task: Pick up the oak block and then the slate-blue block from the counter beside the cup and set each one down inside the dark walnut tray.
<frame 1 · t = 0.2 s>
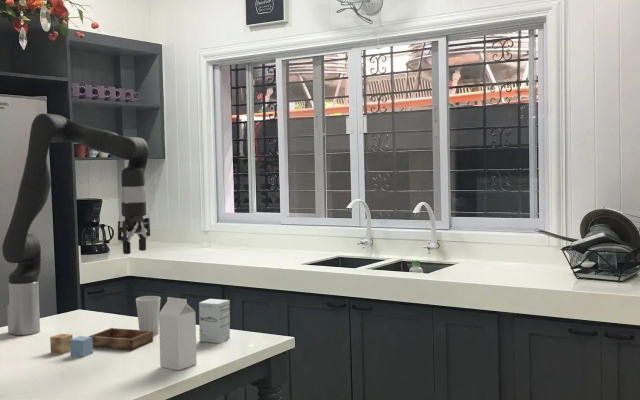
hand: (134, 252, 223), 29 cm above the table, tool pointing down, fingers open, 8 cm apart
slate block: (81, 355, 211), on the table
cup: (149, 334, 235), on the table
supplement box: (215, 340, 226), on the table
tray: (121, 344, 223), on the table
milk carton: (178, 366, 197), on the table
oak block: (61, 352, 214), on the table
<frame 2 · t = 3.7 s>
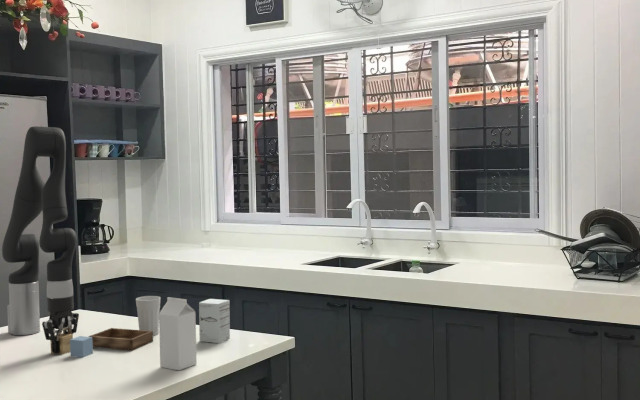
hand: (62, 350, 214), 0 cm above the table, tool pointing down, fingers closed on oak block, 4 cm apart
oak block: (62, 351, 214), on the table, touching gripper
everything else where it was.
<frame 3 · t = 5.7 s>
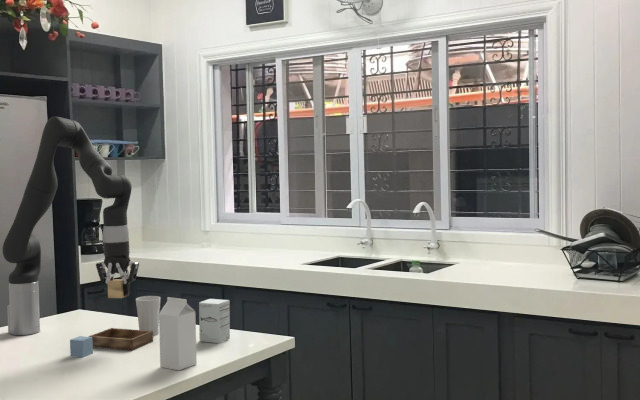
hand: (118, 295, 218), 16 cm above the table, tool pointing down, fingers closed on oak block, 4 cm apart
oak block: (118, 296, 218), point 16 cm above the table, touching gripper
everything else where it was.
when the fingers open (3 cm above the table, at t = 7.7 s): oak block drops 2 cm, resting on tray.
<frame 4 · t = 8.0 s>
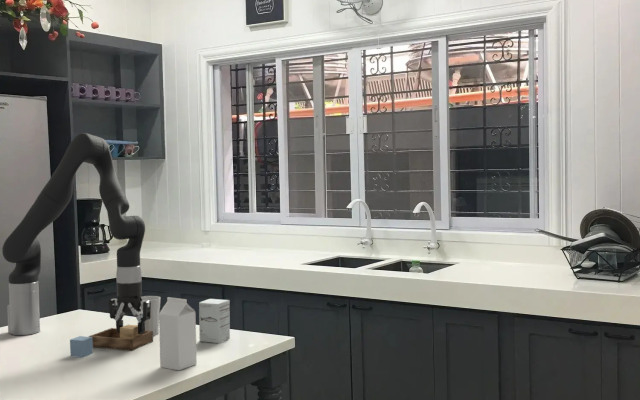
hand: (130, 332, 221), 4 cm above the table, tool pointing down, fingers open, 7 cm apart
oak block: (130, 342, 221), point 1 cm above the table, touching tray
everything else where it was.
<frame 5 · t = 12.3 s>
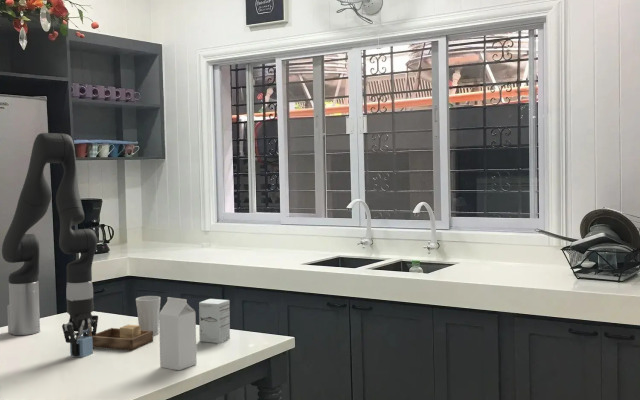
hand: (81, 353, 211), 0 cm above the table, tool pointing down, fingers closed on slate block, 4 cm apart
slate block: (81, 354, 211), on the table, touching gripper
everything else where it was.
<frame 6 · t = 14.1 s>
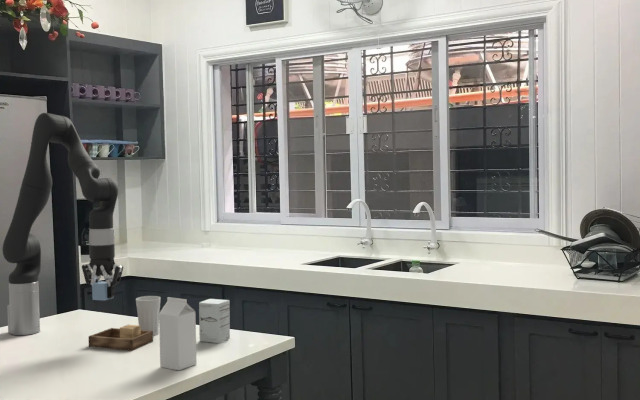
hand: (103, 297, 220), 15 cm above the table, tool pointing down, fingers closed on slate block, 4 cm apart
slate block: (103, 298, 220), point 15 cm above the table, touching gripper
everything else where it was.
when the fingers open (3 cm above the table, at t = 16.0 s): slate block drops 2 cm, resting on tray.
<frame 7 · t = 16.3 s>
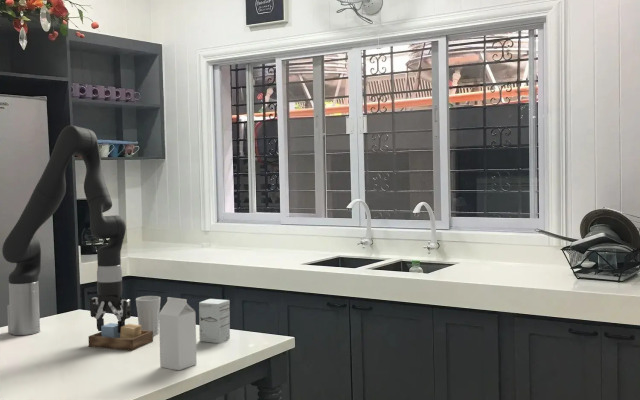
hand: (110, 331, 224), 4 cm above the table, tool pointing down, fingers open, 7 cm apart
slate block: (112, 340, 224), point 1 cm above the table, touching tray
oak block: (130, 341, 221), point 1 cm above the table, touching gripper, tray
everything else where it was.
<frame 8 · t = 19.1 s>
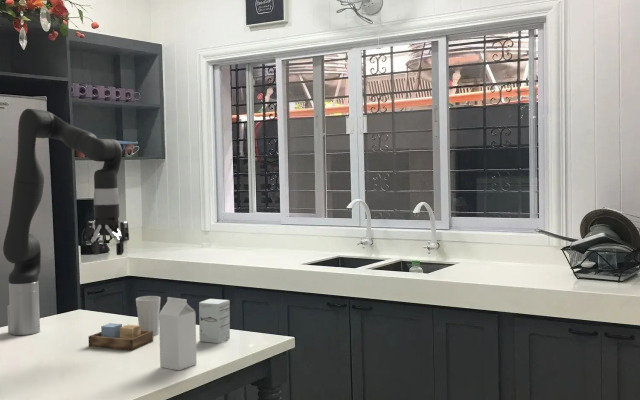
hand: (108, 254, 222), 28 cm above the table, tool pointing down, fingers open, 8 cm apart
oak block: (130, 342, 221), point 1 cm above the table, touching tray
everything else where it was.
at the end: oak block inside the target area on the tray (3.5 cm from its centre), point 0.8 cm above the tray's base; slate block inside the target area on the tray (3.4 cm from its centre), point 0.8 cm above the tray's base; cup moved 0.2 cm from its start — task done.
